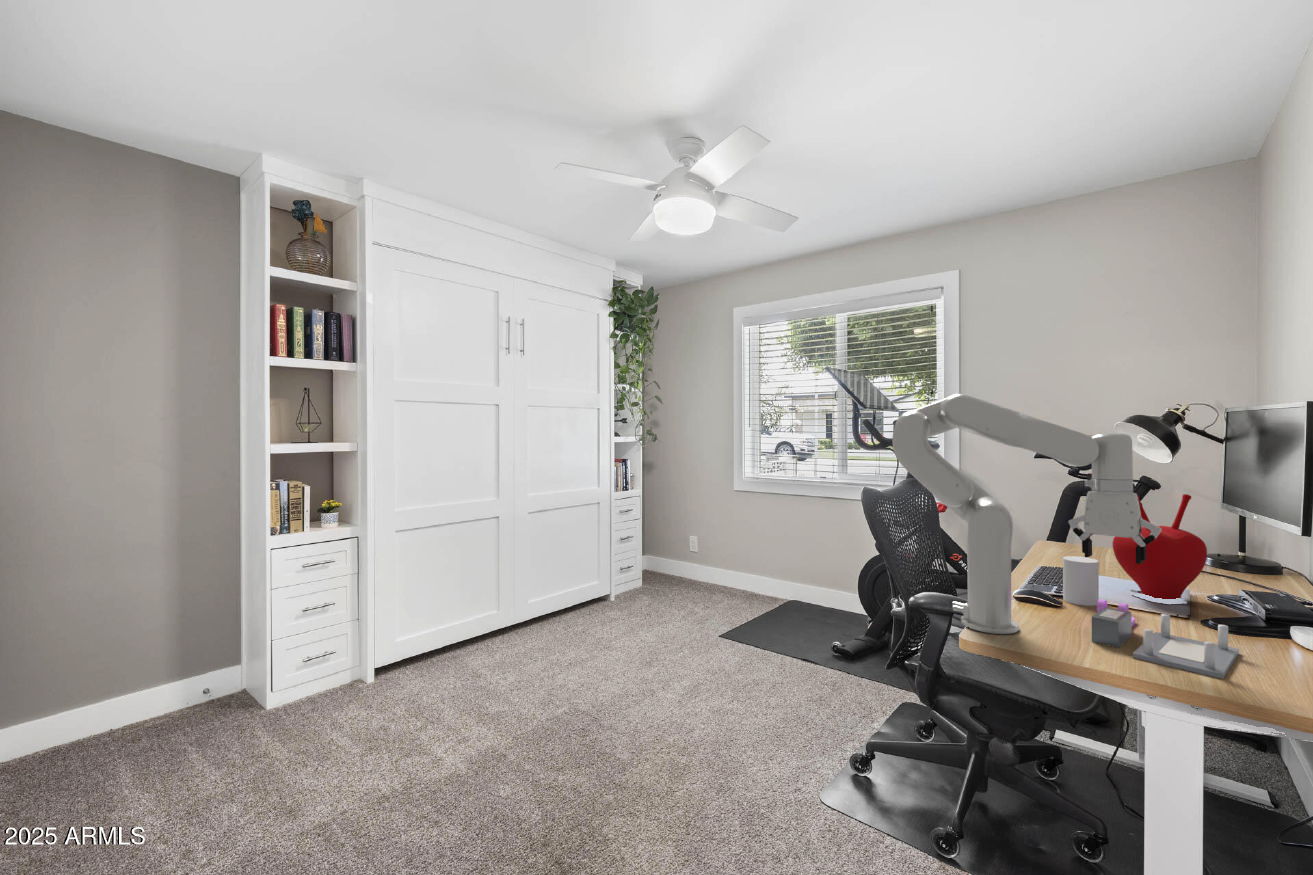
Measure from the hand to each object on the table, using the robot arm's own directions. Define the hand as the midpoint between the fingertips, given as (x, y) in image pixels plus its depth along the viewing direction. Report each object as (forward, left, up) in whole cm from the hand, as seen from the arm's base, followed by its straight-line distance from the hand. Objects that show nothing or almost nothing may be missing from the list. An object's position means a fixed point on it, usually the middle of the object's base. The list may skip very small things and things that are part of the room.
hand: (1113, 559), depth 135 cm
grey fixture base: (+13, 0, -19) cm, 23 cm away
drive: (0, 0, -19) cm, 19 cm away
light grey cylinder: (-14, +29, -19) cm, 37 cm away
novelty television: (0, +48, -19) cm, 51 cm away
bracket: (-2, +13, -19) cm, 23 cm away
